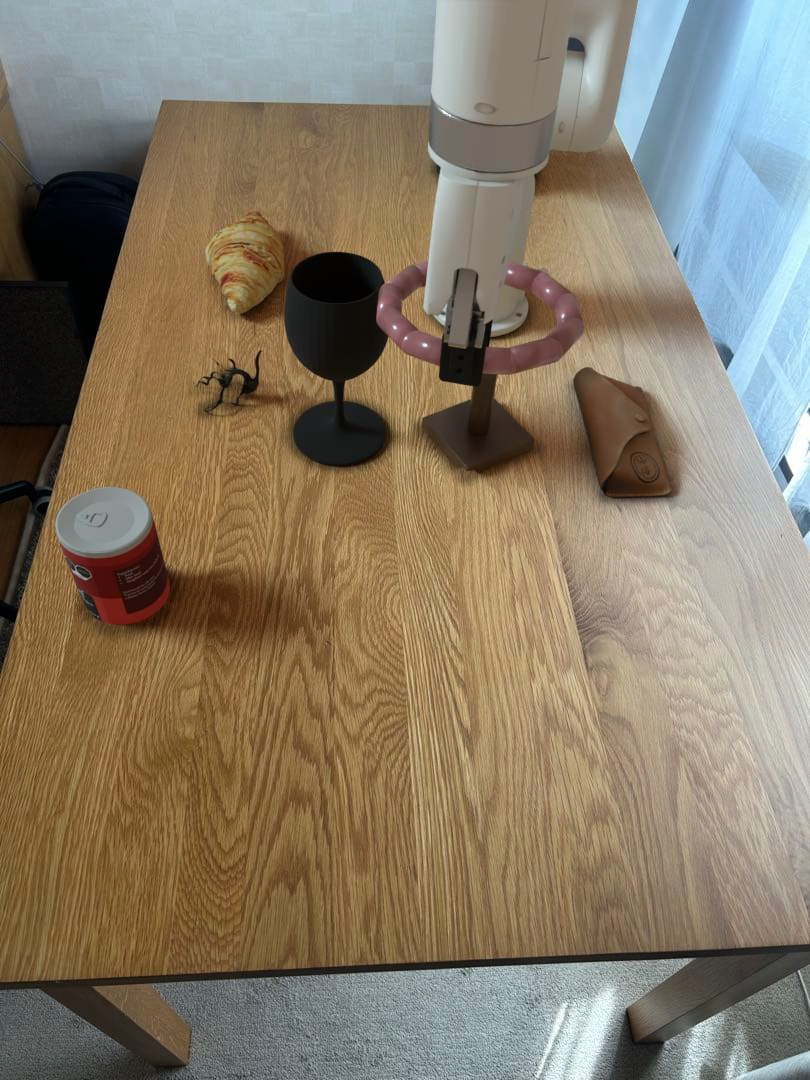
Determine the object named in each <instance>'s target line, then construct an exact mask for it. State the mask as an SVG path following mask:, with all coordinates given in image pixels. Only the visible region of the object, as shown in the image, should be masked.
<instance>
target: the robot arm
mask: <svg viewBox="0 0 810 1080" xmlns="http://www.w3.org/2000/svg"><path fill="white" fill-rule="evenodd" d="M638 4H639V0H436V6H435V7H436V8H435V9H436V10H435V22H434V24H435V25H434V37H433V38H434V39H433V53H432V55H433V56H432V72H431V74H432V75H431V87H430V88H431V89H430V104H429V105H430V107H429V121H428V122H429V123H428V136H427V137H428V139H427V152H428V155H429V157H430V160H432V161H433V162H434V163H435V164H437V165H439V166H440V167H441V169H440V175H439V174H438V180H437V186H436V194H435V199H434V208H433V214H432V223H431V232H430V241H429V250H428V259H427V261H428V269H427V279H426V286H425V287H424V288H425V289H424V296H423V297H424V298H423V306H422V308H423V310H424V313H425V314H426V315H427V316H430V317H431V316H433V317H434V318H435V320H436V321H437V322H438V323H439V324H440V325H442V326H444V332H443V333H442V336H441V339H442V345H441V356H440V367H439V366H438V367H439V369H438V379H439V380H440V381H441V382H445V383H451V384H457V385H461V386H462V385H463V386H468V387H473V386H474V387H478V386H480V384H481V381H482V375H483V367H484V360H485V353H486V347H490V343H491V338H492V337H493V338H494V337H500V336H503V335H506V334H510V333H511V332H514V331H516V330H517V329H518V328H520V327H521V326H522V325H523V324H524V323H525V321H526V318H527V317H528V312H529V301H528V298H527V296H526V295H525V294H526V292H525V291H522V290H519V289H516V288H513V287H510V286H507V285H504V281H505V278H506V274H507V271H508V267H509V263H510V261H511V262H514V263H517V264H521V265H524V266H527V267H530V266H529V265H528V263H526V262H524V261H525V254H526V248H527V244H528V243H527V242H528V236H529V230H530V225H531V224H530V223H531V217H532V212H533V211H532V210H533V205H534V198H535V192H536V178H535V177H534V174H536V173H537V174H538V173H539V172H541V170H543V169H544V168H545V167H546V166H547V164H548V163H549V159H550V152H551V151H560V152H570V153H571V152H573V153H591V152H595V151H597V150H599V149H601V148H602V146H604V145H605V143H606V142H607V140H608V139H609V137H610V135H611V133H612V129H613V126H614V123H615V120H616V116H617V110H618V106H619V101H620V95H621V92H622V91H621V90H622V86H623V80H624V77H625V76H624V75H625V71H626V70H625V69H626V67H627V66H626V65H627V60H628V56H629V49H630V44H631V39H632V34H633V29H634V24H635V19H636V14H637V11H638V10H637V9H638ZM571 38H572V39H576V40H578V41H580V43H581V44H582V46H583V48H584V51H578V50H569V49H568V47H569V39H571ZM437 165H436V166H437ZM537 270H540V271H543V272H545V273H547V274H548V275H549V276H550V273H549V271H548V270H547V268H546V267H541V268H538V269H537Z"/></svg>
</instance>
